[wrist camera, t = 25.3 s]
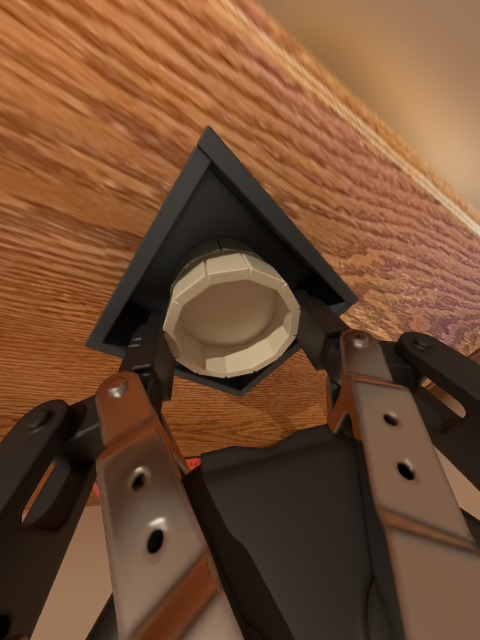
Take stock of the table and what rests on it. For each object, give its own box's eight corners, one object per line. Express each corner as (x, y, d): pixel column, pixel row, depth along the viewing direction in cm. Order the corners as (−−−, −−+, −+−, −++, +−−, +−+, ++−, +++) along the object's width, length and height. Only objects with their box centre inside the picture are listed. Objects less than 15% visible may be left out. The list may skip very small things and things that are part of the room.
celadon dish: (213, 211, 10) (217, 219, 8) (286, 277, 13) (302, 294, 12) (155, 297, 13) (147, 319, 11) (230, 336, 16) (235, 358, 14)
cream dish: (191, 226, 8) (189, 242, 6) (302, 276, 11) (326, 299, 9) (158, 334, 11) (150, 367, 9) (251, 354, 14) (260, 383, 12)
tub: (203, 145, 9) (207, 123, 5) (318, 268, 14) (359, 299, 11) (115, 298, 13) (83, 346, 9) (232, 353, 18) (241, 397, 14)
